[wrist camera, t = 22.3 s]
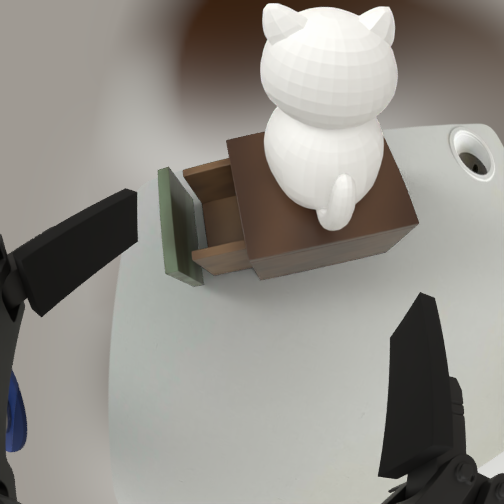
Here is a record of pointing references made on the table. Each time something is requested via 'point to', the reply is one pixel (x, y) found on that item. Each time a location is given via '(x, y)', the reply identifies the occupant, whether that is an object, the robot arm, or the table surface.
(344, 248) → the cabinet
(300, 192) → the cat figurine
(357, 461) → the table surface
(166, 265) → the drawer
